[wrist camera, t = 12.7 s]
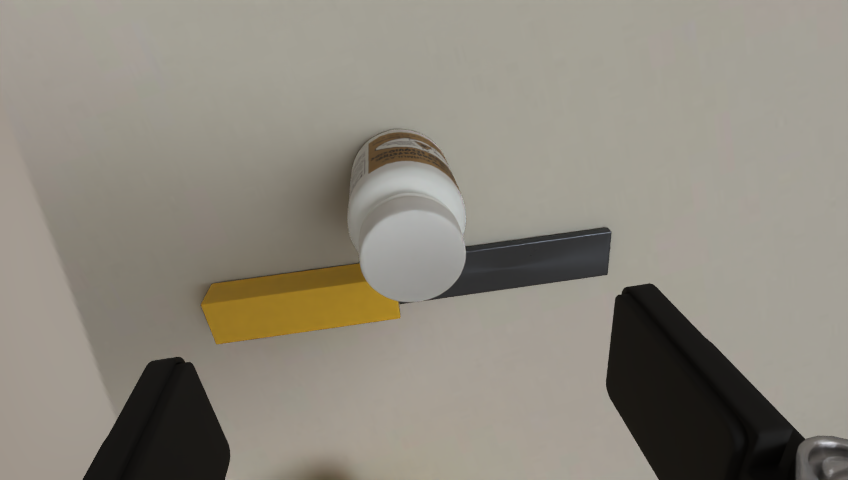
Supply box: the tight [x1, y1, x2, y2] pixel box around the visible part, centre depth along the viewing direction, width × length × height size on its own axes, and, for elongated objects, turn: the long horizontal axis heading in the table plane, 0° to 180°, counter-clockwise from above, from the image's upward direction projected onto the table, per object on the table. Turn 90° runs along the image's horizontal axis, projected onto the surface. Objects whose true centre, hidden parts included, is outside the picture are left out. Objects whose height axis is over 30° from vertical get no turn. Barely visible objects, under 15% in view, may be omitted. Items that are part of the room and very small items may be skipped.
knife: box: [201, 228, 611, 344], centre depth 24 cm, size 20×3×2 cm, turn 96°
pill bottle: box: [347, 129, 466, 302], centre depth 19 cm, size 4×4×8 cm
